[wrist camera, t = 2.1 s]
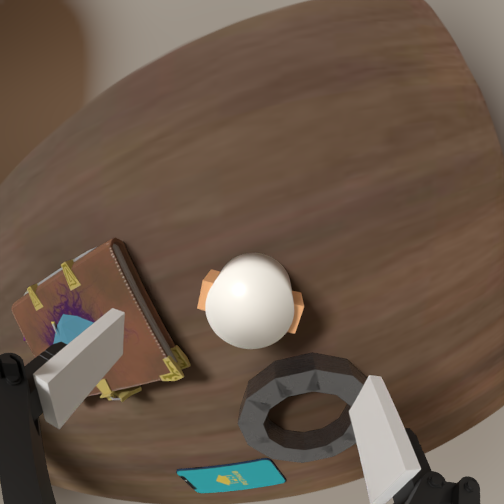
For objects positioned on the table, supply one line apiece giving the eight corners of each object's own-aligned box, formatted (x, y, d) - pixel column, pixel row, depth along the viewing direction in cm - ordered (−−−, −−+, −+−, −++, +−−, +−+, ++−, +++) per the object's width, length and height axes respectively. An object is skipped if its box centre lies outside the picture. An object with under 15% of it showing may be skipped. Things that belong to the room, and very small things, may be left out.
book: (12, 304, 31) (-11, 315, 26) (128, 230, 27) (101, 236, 23) (66, 401, 33) (48, 419, 28) (200, 371, 29) (187, 398, 24)
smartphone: (287, 483, 32) (198, 494, 34) (287, 479, 33) (199, 490, 35) (269, 458, 31) (173, 470, 33) (269, 454, 32) (175, 467, 34)
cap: (205, 309, 27) (191, 334, 22) (219, 242, 26) (207, 255, 21) (285, 330, 27) (287, 358, 22) (306, 264, 26) (313, 282, 21)
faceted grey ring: (231, 432, 31) (228, 450, 28) (261, 341, 28) (259, 357, 25) (338, 448, 30) (341, 465, 28) (388, 365, 27) (397, 381, 24)
